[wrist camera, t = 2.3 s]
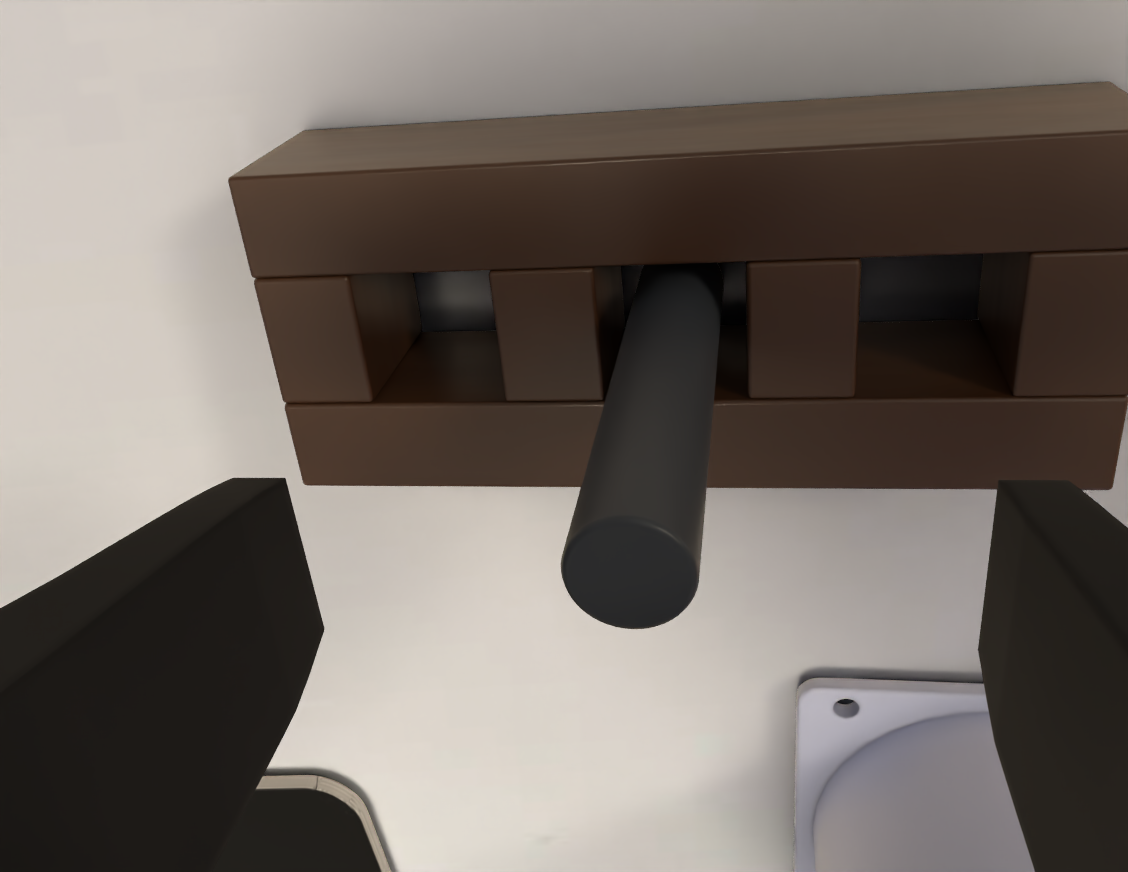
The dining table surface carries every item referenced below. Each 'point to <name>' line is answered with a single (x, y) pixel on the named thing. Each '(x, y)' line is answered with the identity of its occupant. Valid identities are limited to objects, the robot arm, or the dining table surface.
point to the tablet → (303, 830)
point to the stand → (707, 235)
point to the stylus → (650, 456)
